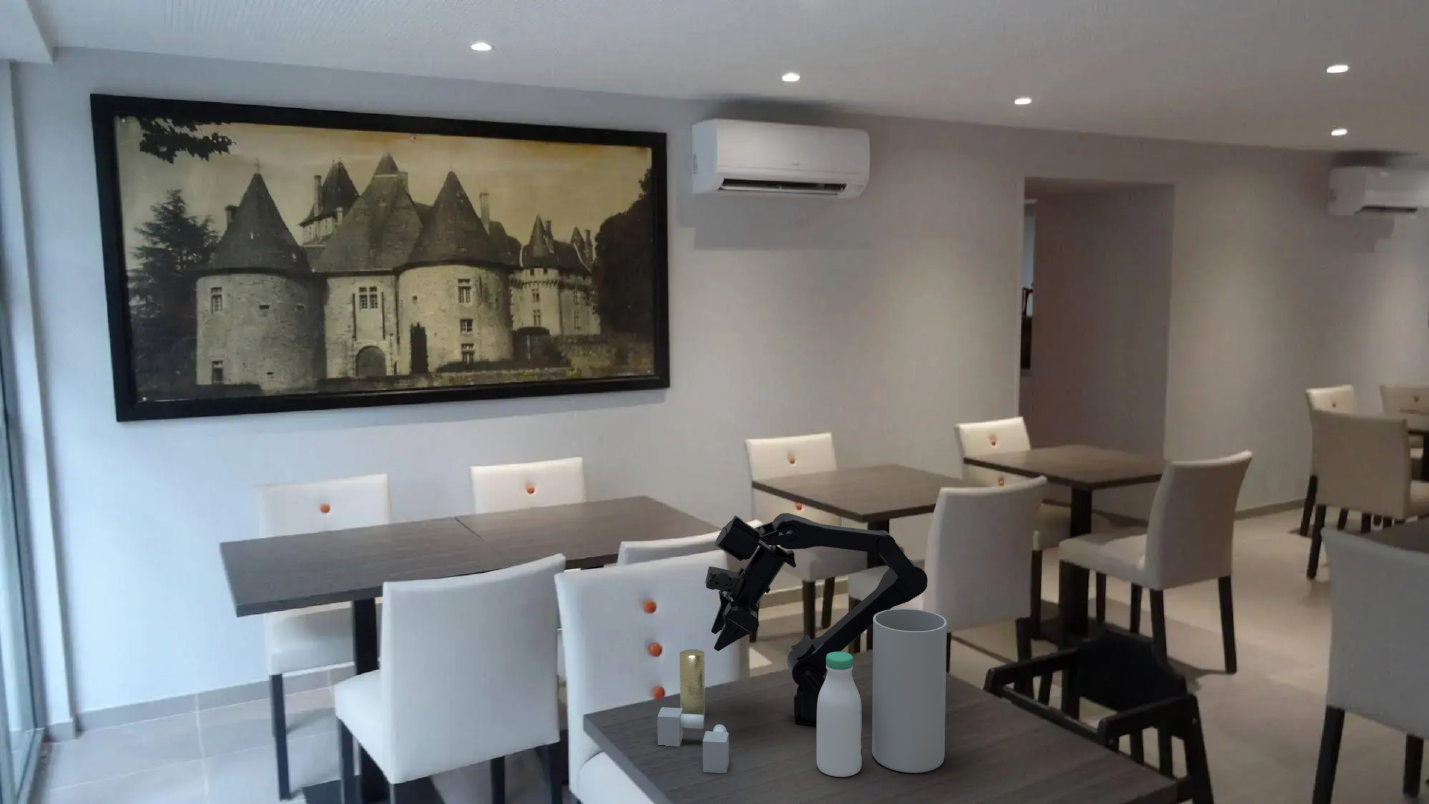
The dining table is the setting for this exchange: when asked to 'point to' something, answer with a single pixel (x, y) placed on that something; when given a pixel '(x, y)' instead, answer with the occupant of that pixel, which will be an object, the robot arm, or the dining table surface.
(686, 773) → the dining table surface
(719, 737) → the shaft on bearing block
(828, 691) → the milk bottle
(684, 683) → the olive pillar candle
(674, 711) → the shaft on bearing block
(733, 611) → the robot arm
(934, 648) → the cylinder vase
